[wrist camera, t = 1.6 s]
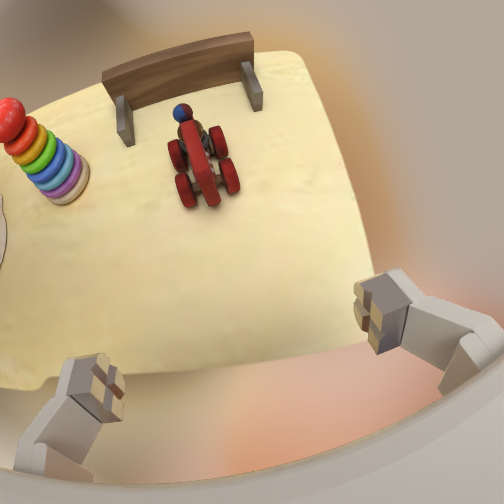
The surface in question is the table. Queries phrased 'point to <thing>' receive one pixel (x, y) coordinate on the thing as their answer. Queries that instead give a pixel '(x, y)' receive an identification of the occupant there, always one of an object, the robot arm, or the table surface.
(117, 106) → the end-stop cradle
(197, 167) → the toy fire truck
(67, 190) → the stacking toy
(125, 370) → the table surface
